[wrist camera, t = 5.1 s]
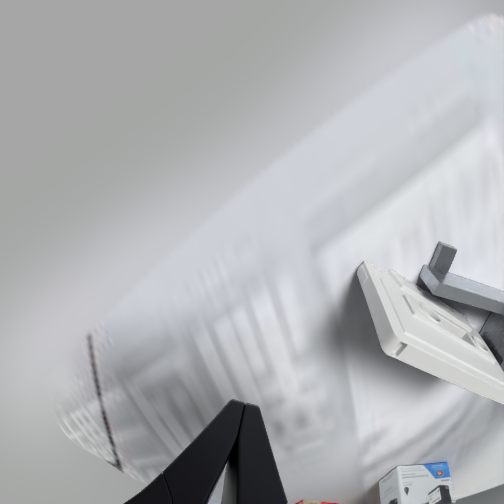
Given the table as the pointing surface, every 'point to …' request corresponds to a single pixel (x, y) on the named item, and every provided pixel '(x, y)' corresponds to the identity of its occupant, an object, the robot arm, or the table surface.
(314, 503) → the stack of blocks
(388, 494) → the ink box
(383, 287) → the cassette
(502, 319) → the bracket
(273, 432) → the table surface
